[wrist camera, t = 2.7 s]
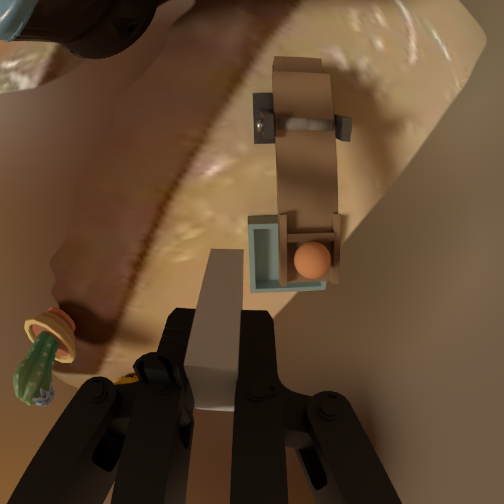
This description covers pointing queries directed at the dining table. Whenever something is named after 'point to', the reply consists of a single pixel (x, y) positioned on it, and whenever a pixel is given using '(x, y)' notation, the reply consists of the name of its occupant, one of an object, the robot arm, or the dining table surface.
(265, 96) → the stand
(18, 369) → the potted cactus
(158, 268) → the dining table surface
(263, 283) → the dish
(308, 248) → the ball
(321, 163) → the lever
